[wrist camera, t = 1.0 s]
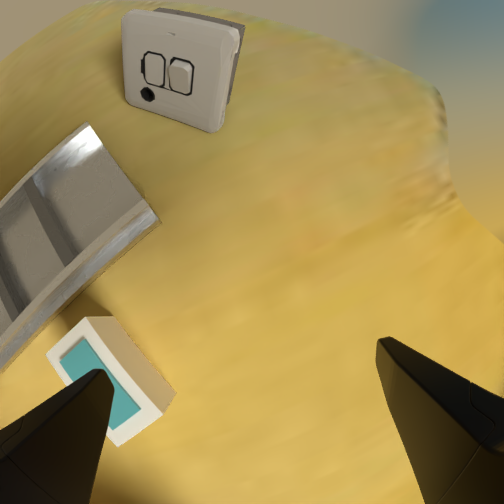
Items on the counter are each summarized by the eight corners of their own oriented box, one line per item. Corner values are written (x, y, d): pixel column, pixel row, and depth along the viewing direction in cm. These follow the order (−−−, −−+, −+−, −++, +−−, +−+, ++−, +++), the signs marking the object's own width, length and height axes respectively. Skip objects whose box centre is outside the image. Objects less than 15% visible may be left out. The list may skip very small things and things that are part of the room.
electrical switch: (125, 105, 23) (104, 24, 14) (157, 71, 25) (149, -7, 16) (217, 138, 23) (224, 47, 14) (244, 99, 25) (259, 15, 16)
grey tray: (2, 373, 18) (-15, 377, 15) (-42, 274, 19) (-58, 271, 16) (161, 222, 21) (154, 212, 19) (93, 132, 22) (84, 116, 20)
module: (138, 421, 19) (116, 449, 14) (79, 347, 19) (42, 355, 14) (176, 392, 19) (162, 416, 14) (114, 316, 20) (83, 316, 15)
